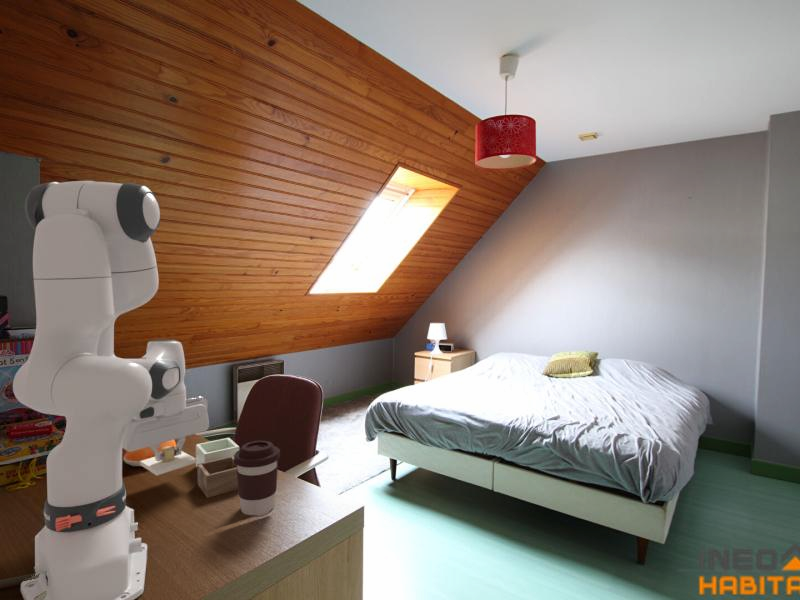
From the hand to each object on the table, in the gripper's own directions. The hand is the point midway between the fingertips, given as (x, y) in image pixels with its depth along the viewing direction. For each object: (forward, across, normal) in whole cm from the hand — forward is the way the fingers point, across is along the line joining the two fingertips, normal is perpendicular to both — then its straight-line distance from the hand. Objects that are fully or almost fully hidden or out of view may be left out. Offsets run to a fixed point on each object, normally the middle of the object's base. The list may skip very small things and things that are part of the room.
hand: (168, 457), depth 113 cm
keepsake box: (+8, -8, +10) cm, 15 cm away
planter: (+8, -13, -1) cm, 16 cm away
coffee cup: (+8, -8, +27) cm, 29 cm away
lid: (+2, 0, 0) cm, 2 cm away
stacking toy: (+8, -5, -23) cm, 25 cm away
